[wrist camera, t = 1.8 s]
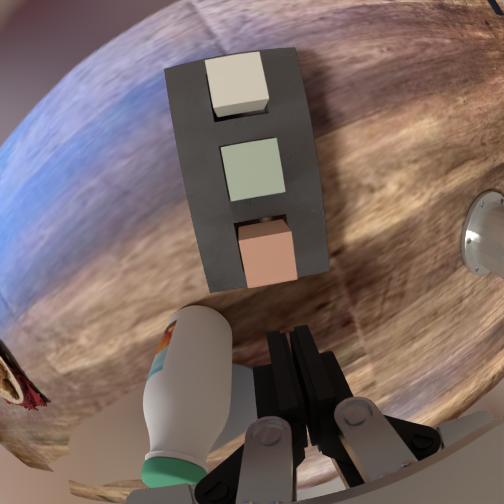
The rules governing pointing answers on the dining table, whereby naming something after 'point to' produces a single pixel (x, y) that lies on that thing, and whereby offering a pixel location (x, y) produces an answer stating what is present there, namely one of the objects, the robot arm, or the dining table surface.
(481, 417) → the robot arm
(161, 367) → the milk bottle
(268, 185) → the sage key
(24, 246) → the dining table surface
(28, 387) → the plate with food
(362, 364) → the dining table surface
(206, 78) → the panel
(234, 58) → the ivory key
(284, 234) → the terracotta key
